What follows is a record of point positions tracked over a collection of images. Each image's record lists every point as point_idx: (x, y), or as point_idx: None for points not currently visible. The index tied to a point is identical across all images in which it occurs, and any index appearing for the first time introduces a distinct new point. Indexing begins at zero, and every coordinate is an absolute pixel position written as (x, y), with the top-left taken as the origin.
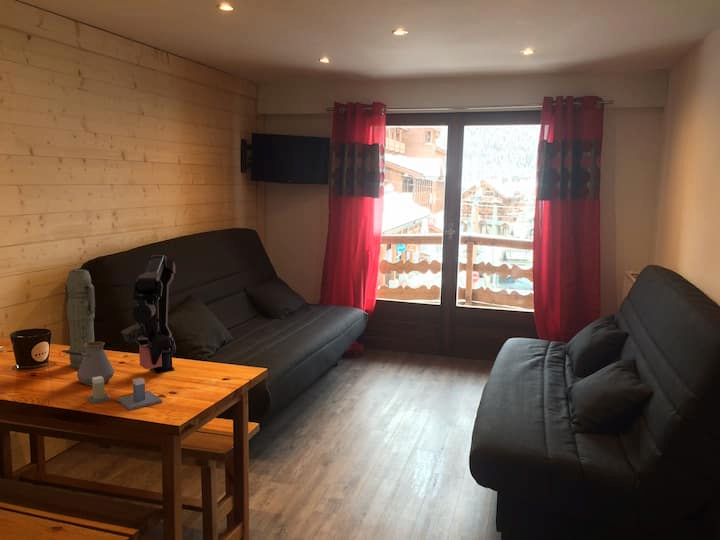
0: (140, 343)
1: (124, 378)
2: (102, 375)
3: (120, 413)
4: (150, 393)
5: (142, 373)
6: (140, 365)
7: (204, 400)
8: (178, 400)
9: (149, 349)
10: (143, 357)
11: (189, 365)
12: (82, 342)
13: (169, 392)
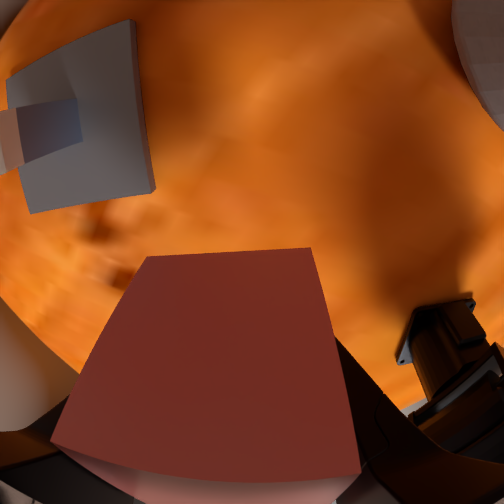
0: (389, 499)
1: (465, 168)
2: (468, 31)
3: (8, 49)
4: (108, 189)
5: (461, 259)
6: (295, 249)
7: (38, 319)
8: (44, 264)
9: (54, 448)
10: (175, 332)
11: (392, 395)
12: None
13: (130, 270)
